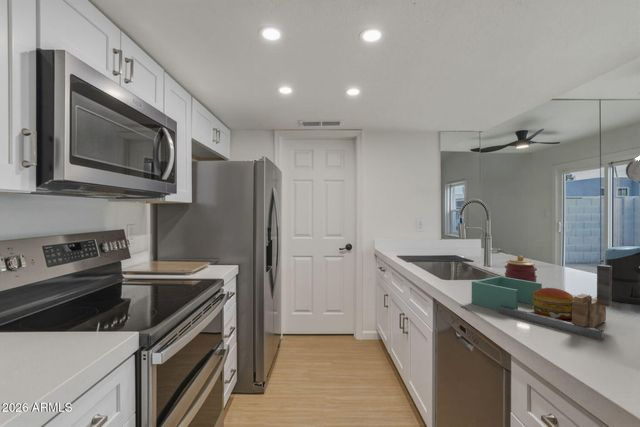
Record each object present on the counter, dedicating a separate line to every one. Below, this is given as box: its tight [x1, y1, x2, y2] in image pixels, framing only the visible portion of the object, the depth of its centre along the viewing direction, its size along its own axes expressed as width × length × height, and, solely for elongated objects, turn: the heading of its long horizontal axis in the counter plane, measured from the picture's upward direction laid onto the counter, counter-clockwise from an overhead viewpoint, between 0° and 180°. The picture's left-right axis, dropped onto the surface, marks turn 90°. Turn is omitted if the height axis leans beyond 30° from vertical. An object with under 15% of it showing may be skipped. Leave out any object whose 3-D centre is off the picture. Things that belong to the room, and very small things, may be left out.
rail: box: [497, 306, 605, 341], centre depth 104 cm, size 2×30×2 cm, turn 34°
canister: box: [504, 255, 538, 282], centre depth 146 cm, size 13×13×18 cm
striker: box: [571, 264, 613, 328], centre depth 100 cm, size 23×6×20 cm, turn 124°
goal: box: [471, 275, 543, 311], centre depth 127 cm, size 22×17×9 cm
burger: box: [531, 287, 575, 320], centre depth 113 cm, size 13×14×10 cm
